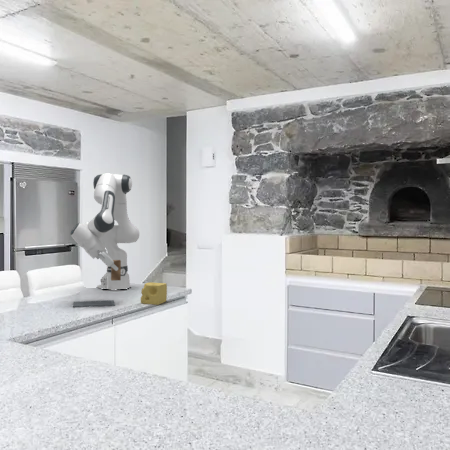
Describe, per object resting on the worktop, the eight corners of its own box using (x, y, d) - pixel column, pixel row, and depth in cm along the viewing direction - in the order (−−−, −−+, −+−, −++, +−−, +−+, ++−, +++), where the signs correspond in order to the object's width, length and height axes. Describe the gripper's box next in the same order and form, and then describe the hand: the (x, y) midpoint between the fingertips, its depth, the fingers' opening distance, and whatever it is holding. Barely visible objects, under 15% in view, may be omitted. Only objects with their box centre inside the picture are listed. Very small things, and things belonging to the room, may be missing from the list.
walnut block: (111, 280, 232) (111, 260, 232) (110, 279, 237) (111, 259, 236) (120, 280, 234) (120, 260, 234) (119, 279, 238) (120, 259, 238)
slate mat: (72, 307, 224) (72, 306, 224) (73, 302, 236) (73, 301, 236) (114, 305, 230) (114, 304, 230) (113, 301, 242) (113, 300, 242)
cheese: (140, 303, 236) (140, 284, 236) (149, 300, 247) (150, 281, 246) (159, 305, 233) (159, 285, 233) (167, 301, 244) (167, 282, 243)
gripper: (102, 247, 223) (123, 266, 226) (101, 244, 242) (119, 262, 245) (93, 256, 222) (113, 276, 225) (92, 253, 241) (111, 271, 244)
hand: (117, 269), depth 235 cm, fingers closed on walnut block, 4 cm apart
